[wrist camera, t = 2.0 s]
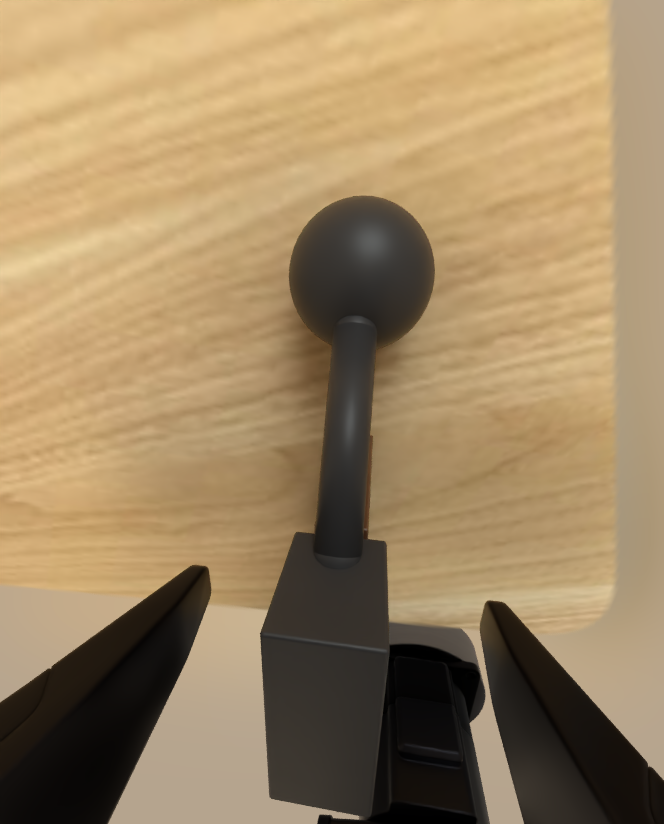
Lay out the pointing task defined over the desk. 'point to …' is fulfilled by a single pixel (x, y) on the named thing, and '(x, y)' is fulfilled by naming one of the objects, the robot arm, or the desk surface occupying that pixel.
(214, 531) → the desk surface
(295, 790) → the ladle
